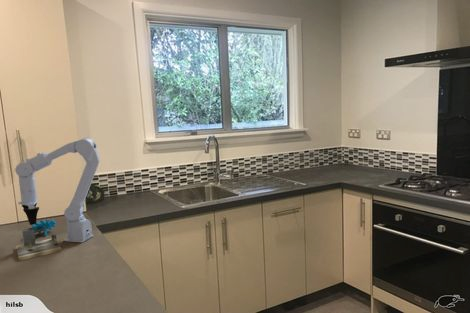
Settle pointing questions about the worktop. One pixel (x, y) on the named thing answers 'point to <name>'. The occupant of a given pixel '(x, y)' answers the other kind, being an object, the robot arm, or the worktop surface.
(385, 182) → the worktop surface
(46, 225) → the blue bumpy figurine
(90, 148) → the robot arm
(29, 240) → the grey rectangular block
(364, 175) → the worktop surface
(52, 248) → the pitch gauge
